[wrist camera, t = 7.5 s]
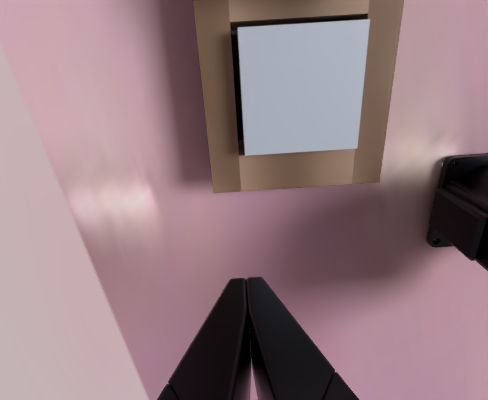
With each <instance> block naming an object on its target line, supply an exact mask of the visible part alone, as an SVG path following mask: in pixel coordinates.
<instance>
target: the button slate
mask: <svg viewBox="0 0 488 400" xmlns="http://www.w3.org/2000/svg"><path fill="white" fill-rule="evenodd" d="M369 25H370V19H366V20H350V21H334V22H317V23H301V24H285V25H269V26H253V27H238V29H237V47H238V64H239V81H240V98H241V115H242V132H243V143H244V151H245V156H248V155H264V154H279V153H294V152H310V151H325V150H341V149H356V148H357V147H358V137H359V127H360V117H361V106H362V96H363V86H364V76H365V66H366V56H367V46H368V36H369Z"/></svg>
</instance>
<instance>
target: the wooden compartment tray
mask: <svg viewBox="0 0 488 400" xmlns="http://www.w3.org/2000/svg"><path fill="white" fill-rule="evenodd" d="M403 4H404V0H193V7H194V16H195V26H196V35H197V44H198V54H199V63H200V72H201V82H202V91H203V100H204V109H205V119H206V128H207V137H208V147H209V156H210V165H211V175H212V184H213V193H224V192H239V191H254V190H270V189H285V188H300V187H315V186H331V185H346V184H361V183H376V182H379V181H380V173H381V166H382V159H383V151H384V144H385V137H386V129H387V122H388V114H389V107H390V100H391V92H392V85H393V78H394V70H395V63H396V55H397V48H398V41H399V33H400V26H401V19H402V11H403ZM366 19H370V25H369V36H368V46H367V56H366V66H365V76H364V86H363V96H362V106H361V117H360V127H359V137H358V147H357V148H356V149H341V150H325V151H310V152H294V153H279V154H264V155H248V156H245V151H244V143H243V141H238V135H237V120H236V105H235V90H234V74H233V59H232V44H231V29H230V27H243V26H259V25H275V24H291V23H307V22H323V21H339V20H345V21H350V20H366Z"/></svg>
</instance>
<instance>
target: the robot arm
mask: <svg viewBox="0 0 488 400" xmlns="http://www.w3.org/2000/svg"><path fill="white" fill-rule="evenodd" d="M453 162H455V164H454V166H453V167H451V165H452V163H453ZM429 224H430V225H429V230H428V234H427V239H426V241H427V243H428V244H429V245H430V246H432V247H449V246H454V247H456V248H457V249H458V250H459V251H460V252H461V253H462V254H464V255H465V256H466V257H467V258H468V259H469V260H471V261H474V260H475V261H477V262H478V263H479V264H480V265H481V266H482V267H484V268H485V269H486V270H487V271H488V154H473V155H457V156H450V157H448V158H447V159H446V160H445V161H444V163H443V167H442V171H441V176H440V180H439V185H438V189H437V191H436V194H435V199H434V203H433V208H432V212H431V217H430V221H429ZM436 238H437V239H436ZM435 239H436V240H435ZM434 240H435V241H434ZM246 285H247V287H246ZM249 332H250V333H249ZM250 346H251V349H250ZM251 359H252V368H253V375H254V380H255V386H256V391H257V397H258V400H359V399H358V398H357V396H356V395H355V394H354V393H353V392H352V390H351V389H350V388H349V387H348V385H347V384H346V383H345V382H344V380H343V379H342V378H341V377H340V375H339V374H338V373H337V372H335V369H334V368H333V367H332V365H331V364H330V363H329V362H328V360H327V359H326V358H325V357H324V355H323V354H322V353H321V351H320V350H319V349H318V348H317V346H316V345H315V344H314V343H313V341H312V340H311V339H310V337H309V336H308V335H307V334H306V332H305V331H304V330H303V329H302V327H301V326H300V325H299V324H298V322H297V321H296V320H295V318H294V317H293V316H292V315H291V313H290V312H289V311H288V310H287V308H286V307H285V306H284V305H283V303H282V302H281V301H280V299H279V298H278V297H277V296H276V294H275V293H274V292H273V291H272V289H271V288H270V287H269V285H268V284H267V283H266V282H265V280H264V279H263V278H262V277H249V278H247V279H245V278H233V279H230V280H229V282H228V283H227V285H226V287H225V288H224V290H223V292H222V293H221V295H220V297H219V298H218V300H217V302H216V303H215V305H214V307H213V308H212V310H211V312H210V313H209V315H208V317H207V318H206V320H205V322H204V323H203V325H202V326H201V328H200V330H199V331H198V333H197V335H196V336H195V338H194V340H193V341H192V343H191V345H190V346H189V348H188V350H187V351H186V353H185V355H184V356H183V358H182V360H181V361H180V363H179V365H178V366H177V368H176V370H175V371H174V373H173V374H172V376H171V378H170V379H169V381H168V383H169V384H167V385H166V386H165V387H164V389H163V391H162V392H161V394H160V396H159V397H158V399H157V400H250V386H251Z"/></svg>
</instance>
